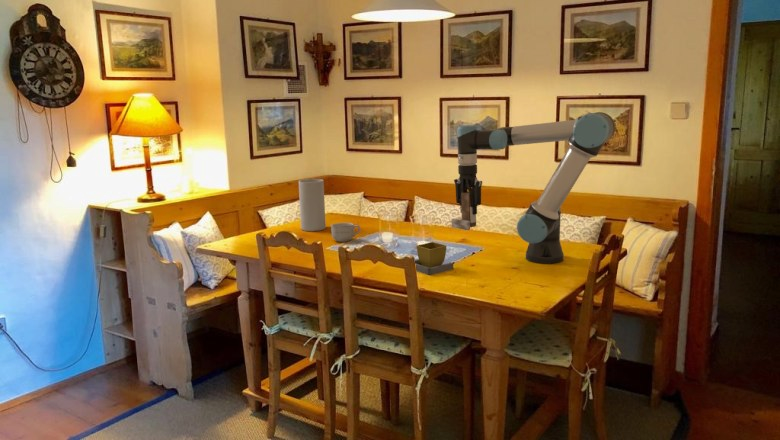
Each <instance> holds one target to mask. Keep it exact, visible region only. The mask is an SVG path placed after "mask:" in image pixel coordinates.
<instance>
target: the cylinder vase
mask: <svg viewBox="0 0 780 440" xmlns="http://www.w3.org/2000/svg"><path fill="white" fill-rule="evenodd" d="M324 185H325V183H324V179H321V178H305V179H300V180H298V195H299V212H300V215H299V216H300V217H299V218H300V228H301V230H302V231H305V232H320V231H322V230H325V229H326V227H327V226H326V225H327V224H326V206H325V187H324Z"/></svg>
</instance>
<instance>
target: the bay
mask: <svg viewBox="0 0 780 440" xmlns="http://www.w3.org/2000/svg"><path fill="white" fill-rule="evenodd" d="M414 260H415V264H416V270H417V271H416V272H418V273H421V274H423V275H424V274H425V275H426V276H433V275H434V276H435V275H436V274H437V275H438V274H441V273H445V272H448V271H452V270H454V262H447V263H443V264H442V265H440V266H436V267H432V268H429V267H426V266H422V264H421V263H420V261H419V258H417V259H414Z"/></svg>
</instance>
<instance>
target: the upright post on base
mask: <svg viewBox="0 0 780 440" xmlns="http://www.w3.org/2000/svg"><path fill="white" fill-rule="evenodd" d="M461 199H462V213H461V219H458V218H451V228H453V229H459V230H464V231H465V230H466V231H470V230H471V228H473V227H474V228H475V227H477V221H476V222H473V223H470V206H471V200H470V193H469V190H467V192H464V193H461Z"/></svg>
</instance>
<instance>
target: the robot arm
mask: <svg viewBox="0 0 780 440" xmlns="http://www.w3.org/2000/svg"><path fill="white" fill-rule="evenodd" d="M615 131H616V124H615V121H614V119H613V117H612V116H611V115H609V114H608V113H606V112H602V111H601V112H600V111H598V112H597V111H596V112H590V113H586V114H584V115H583V116H582V115H581V116H578V117H576V119H570V120H560V121H552V122H545V123H544V122H543V123H534V124H533V123H532V124H527V125H525V124H524V125H516V126H507V127H506V126H504V127H503V126H502V127H499V128H494V129H486V130H479V129H477V126H476V125H475V124H474V125H473V124H471V125H470V124H468V125H459V126H458V127H457V137H456V139H457V160H458V161H457V163H458V166H457V171H458V175H459V177H458V178H456V179H453V181H454V182H453V183H454V185H455V200H456V204H459V206H460V208H459V209H460V213H461V214H462V199H461V193H464V192H468V191H469V193H470V200H471V206H470V223H473V222H476V223H477V214H478V207H479V206H481V205H482V186H483V181H482V180H478V178H477V173H478V165H477V163H478V153H477V152H478V150H494V151H497V150H499V151H500V150H504V149H506V147H508V146H509V147H512V146H520V145H531V144H542V143H553V142H555V143H556V142H565V141H568V148H567V150H566V152H565V153H564V155H563V157H562V158H561V160H560V162H559V164H558V165H557V167H556V169H555V170H554V172H553V173H552V175H551V177H550V179H549V181H548V183H547V184H546V185H545V187H544V189H543V191H542V192H541V195H540V196H539V197H538V200H535V201H532V202H531V203H530V205H529V206H528V208H527V210H526V211H525V214H524V215H522V216H521V217H520V218H519V220H518V221H517V225H516V230H517V233H518V236H519V237H520V238H521V240H522V241H524V242H526V243H528V245H527V249H526V251H525V259H526V260H527V261H528V262H532V263H536V264H556V263H557V264H558V263H561V262H563V261H564V260H565V257H564V255H565V254H564V252H563V249H562V244H561V241H560V240H561V217H562V216H561V214H562V212H561V211H562V210H561V209H562V208H561V207H562V206H563V203H564V202H565V201H566V199H567V197H568V196H569V195H570V192H571V191H572V189H573V187H574V185H575V184H576V182H577V181H578V180H579V177H580V176H581V174H582V172H583V171H584V170H585V167H586V166H587V165H588V163H589V161H590V159H592V158H595V157H597V156H598V154H599V153H600V152H601V150H602V149H603V146H604V145H605V143H607V142H608V141H610V140H611V139H612V137H613V136H614V134H615Z"/></svg>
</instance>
